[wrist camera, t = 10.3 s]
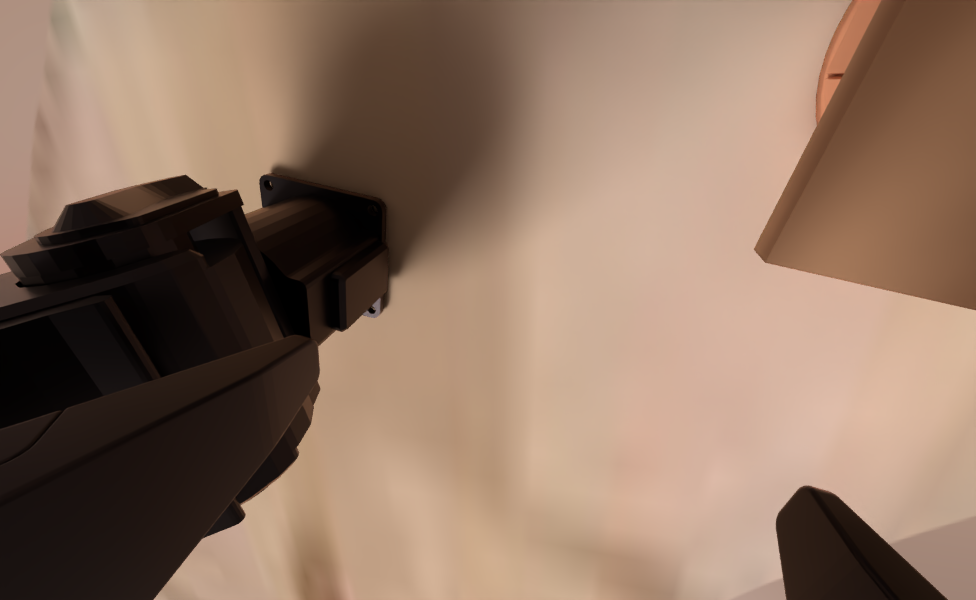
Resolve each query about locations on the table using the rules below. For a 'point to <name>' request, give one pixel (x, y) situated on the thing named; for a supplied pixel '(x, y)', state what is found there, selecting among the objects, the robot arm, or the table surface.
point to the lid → (892, 162)
